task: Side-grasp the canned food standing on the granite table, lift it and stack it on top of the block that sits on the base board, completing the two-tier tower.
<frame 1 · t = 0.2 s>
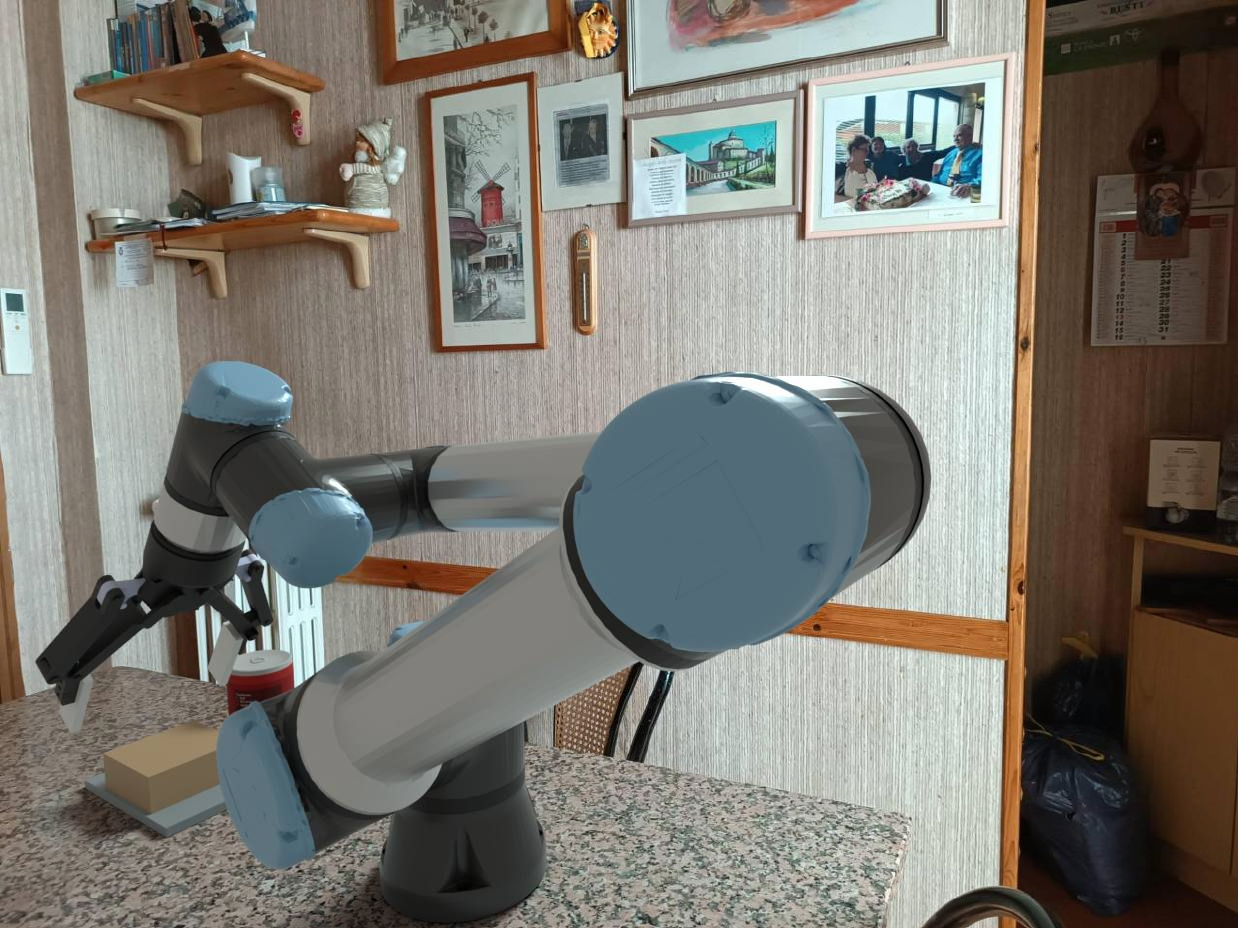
hand: (148, 697, 77), 15 cm above the table, tool tilted 35°, fingers open, 13 cm apart
canned food: (264, 745, 100), on the table
plinth: (176, 789, 89), on the table
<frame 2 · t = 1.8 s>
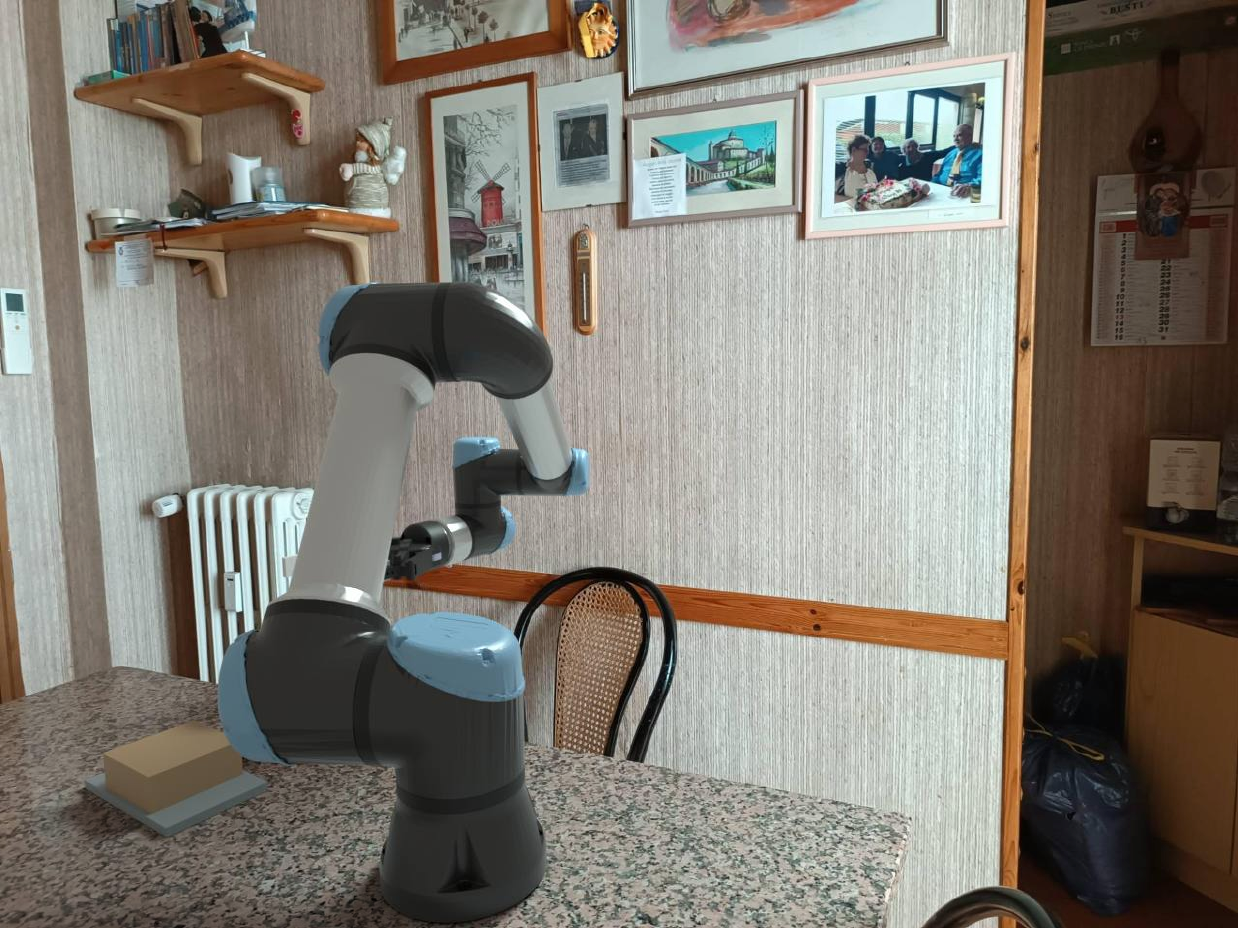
hand: (314, 573, 105), 20 cm above the table, tool horizontal, fingers open, 13 cm apart
nothing on the table moved.
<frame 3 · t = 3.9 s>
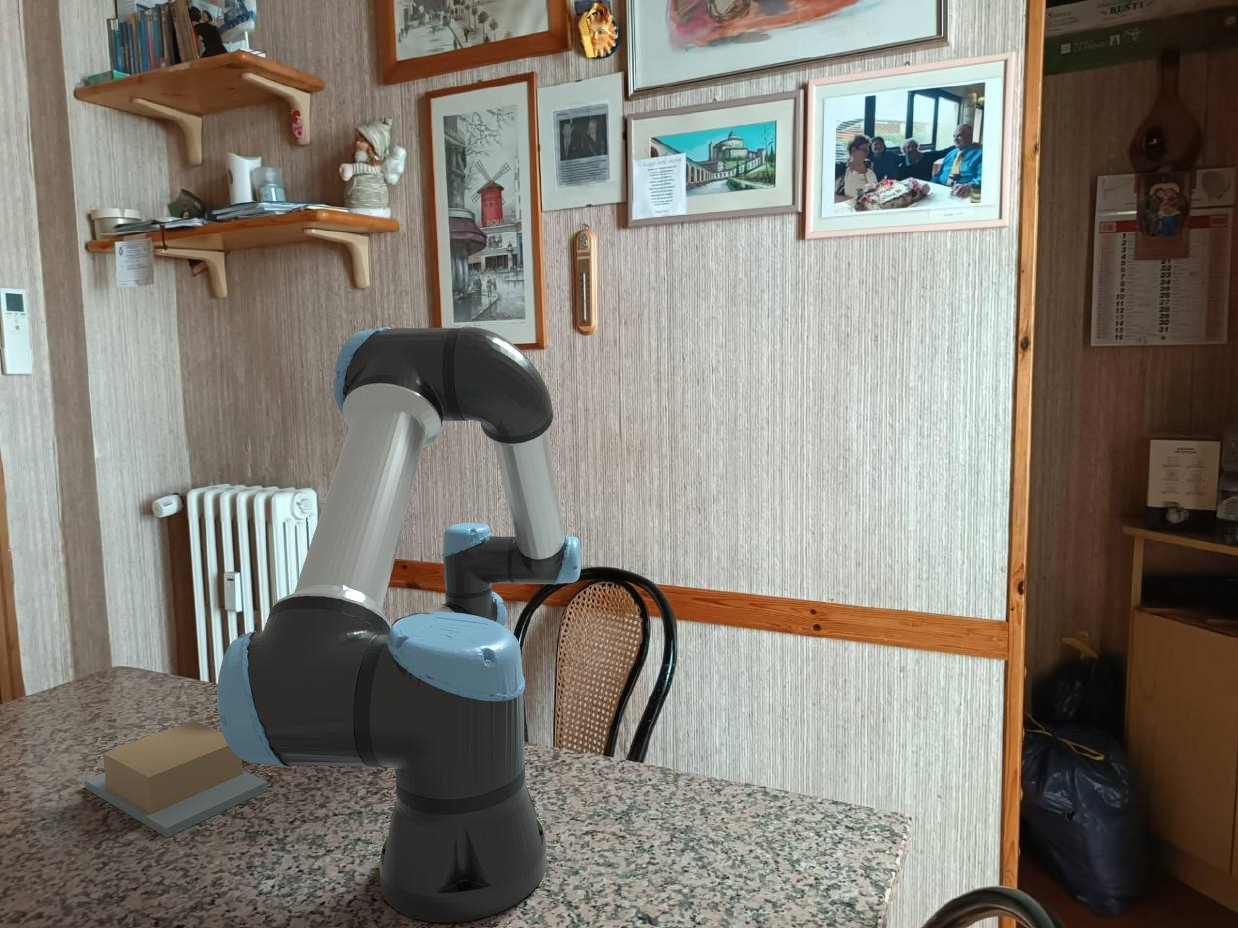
hand: (300, 680, 105), 6 cm above the table, tool horizontal, fingers open, 13 cm apart
nothing on the table moved.
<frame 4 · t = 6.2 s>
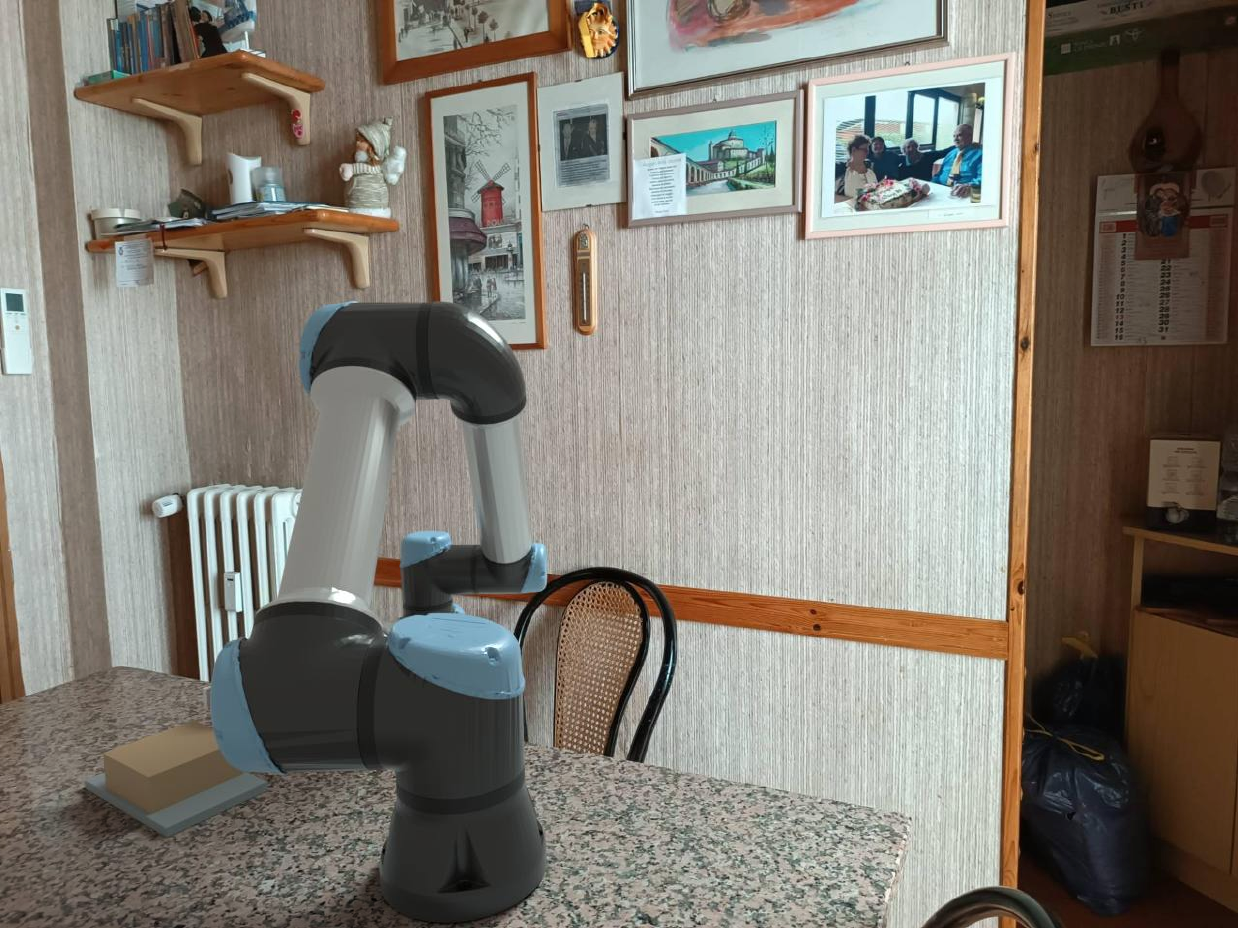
hand: (224, 706, 96), 7 cm above the table, tool horizontal, fingers closed on canned food, 8 cm apart
canned food: (264, 745, 100), on the table, touching gripper
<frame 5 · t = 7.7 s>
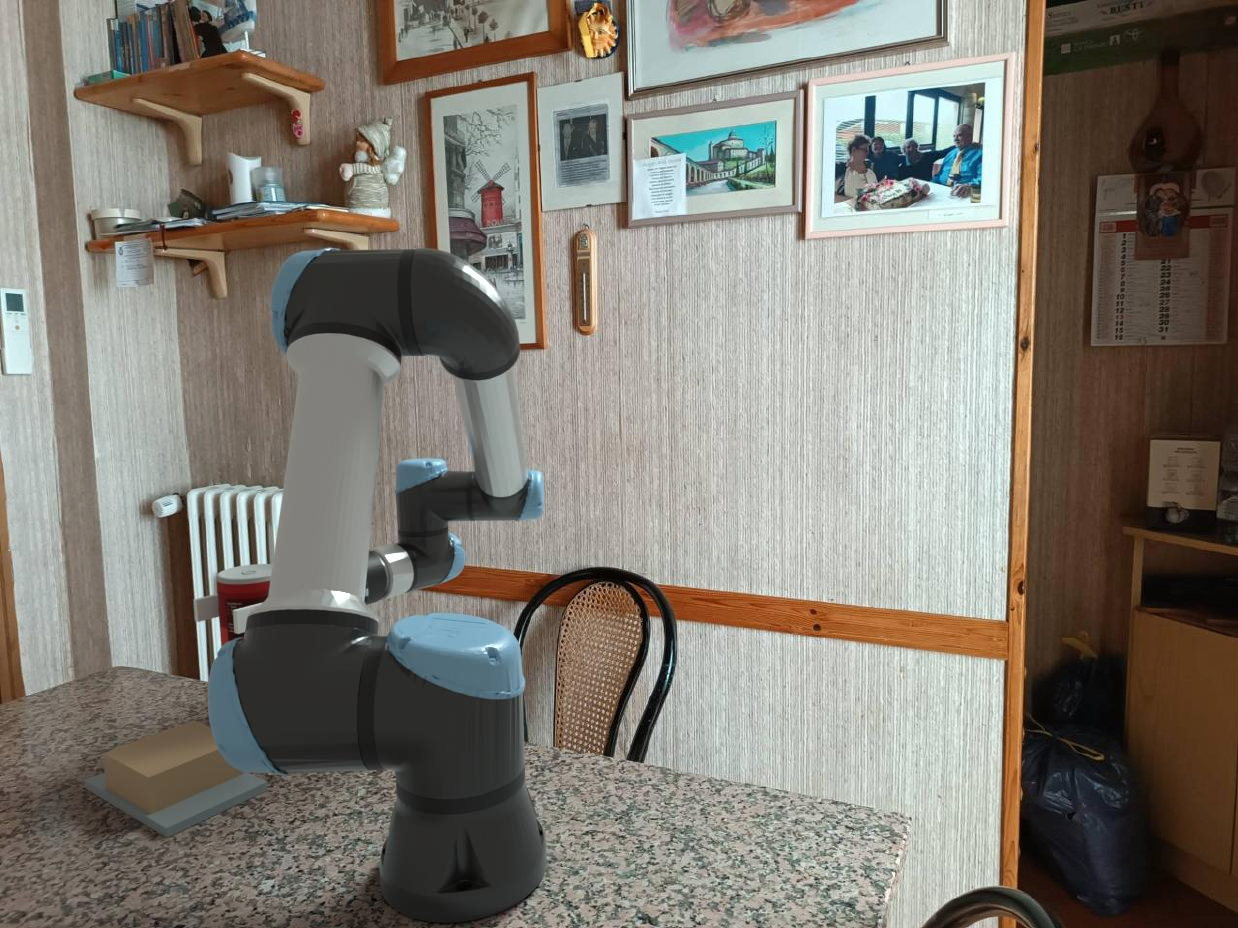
hand: (215, 616, 94), 18 cm above the table, tool horizontal, fingers closed on canned food, 8 cm apart
canned food: (256, 659, 99), point 11 cm above the table, touching gripper
when the fingers open (13 cm above the table, at t = 9.8 s): canned food drops 1 cm, resting on plinth.
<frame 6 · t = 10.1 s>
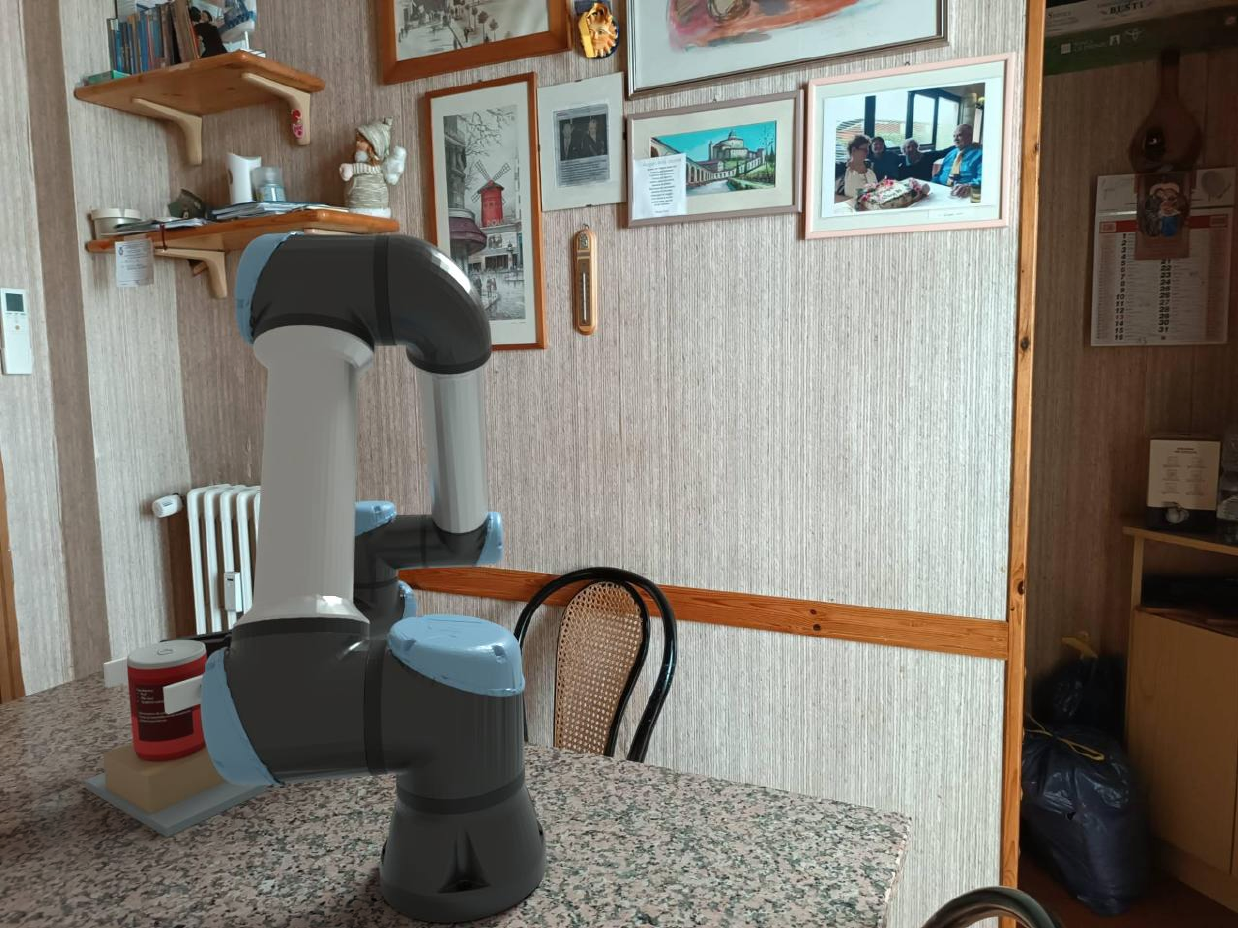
hand: (134, 687, 85), 13 cm above the table, tool horizontal, fingers open, 12 cm apart
canned food: (173, 747, 89), point 5 cm above the table, touching plinth
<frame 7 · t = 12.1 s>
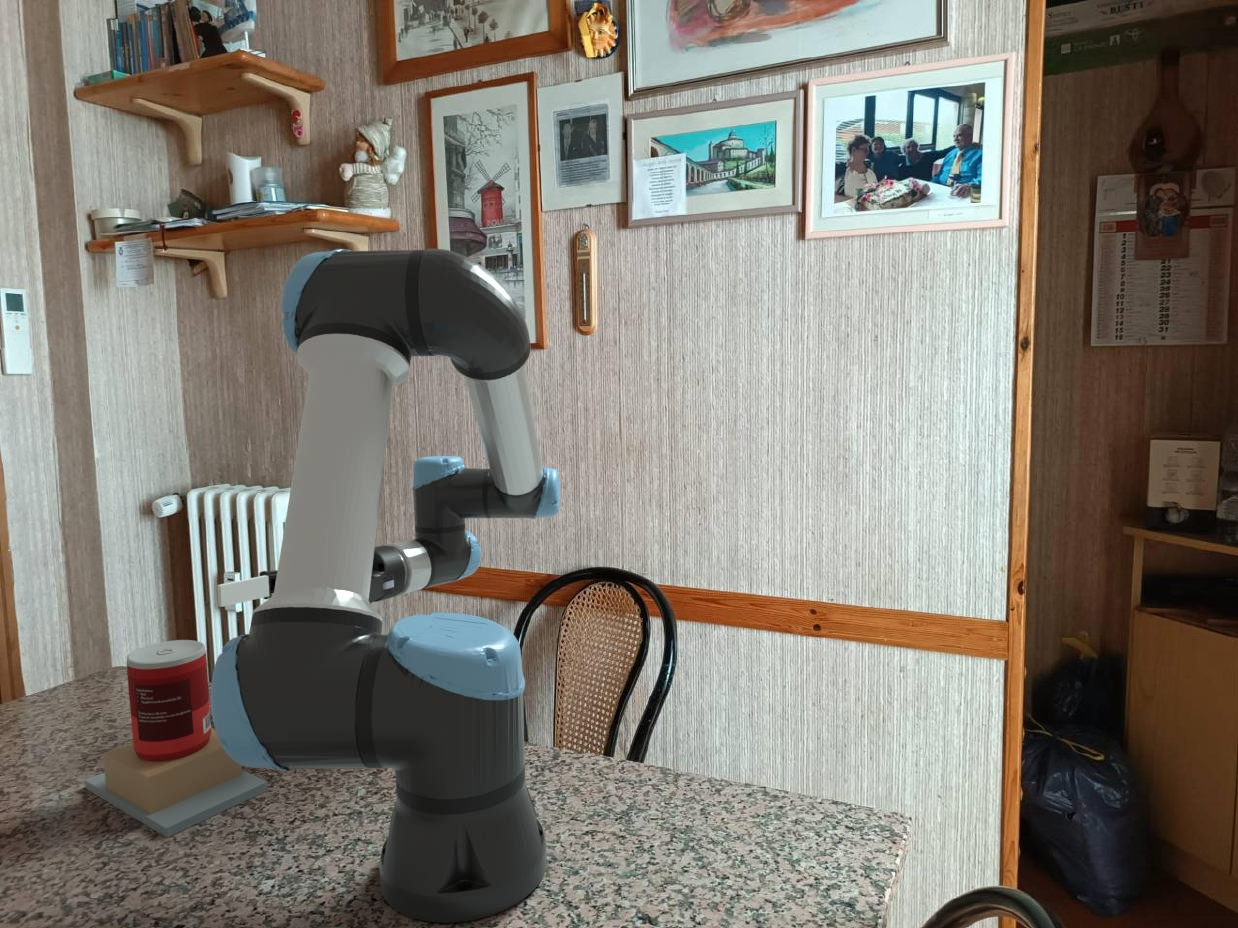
hand: (249, 603, 96), 19 cm above the table, tool horizontal, fingers open, 13 cm apart
nothing on the table moved.
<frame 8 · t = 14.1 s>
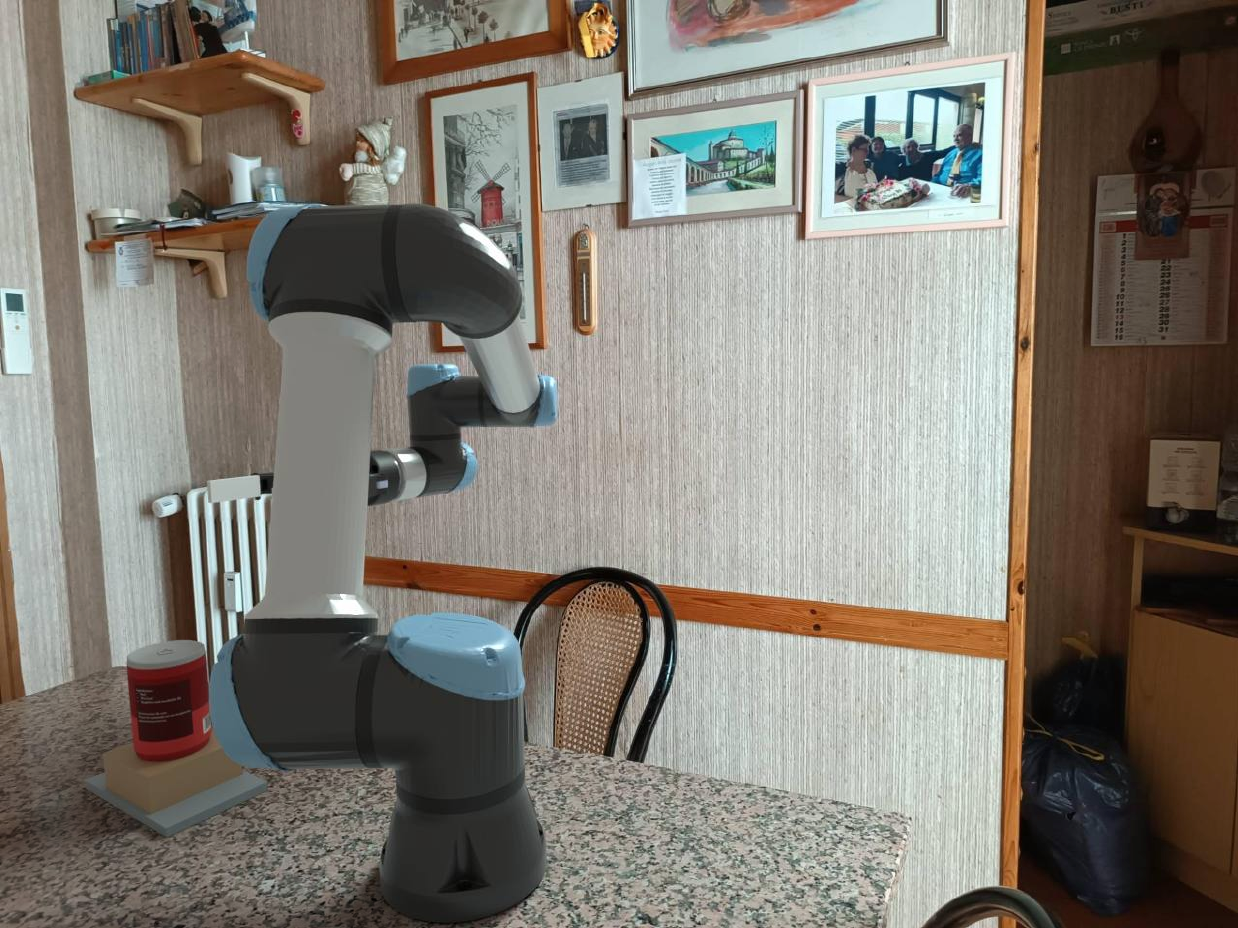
hand: (239, 495, 94), 32 cm above the table, tool horizontal, fingers open, 13 cm apart
nothing on the table moved.
at the end: canned food inside the target area on the plinth (0.1 cm from its centre), point 4.8 cm above the plinth's base; canned food tilted 0°; the gripper is holding nothing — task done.
